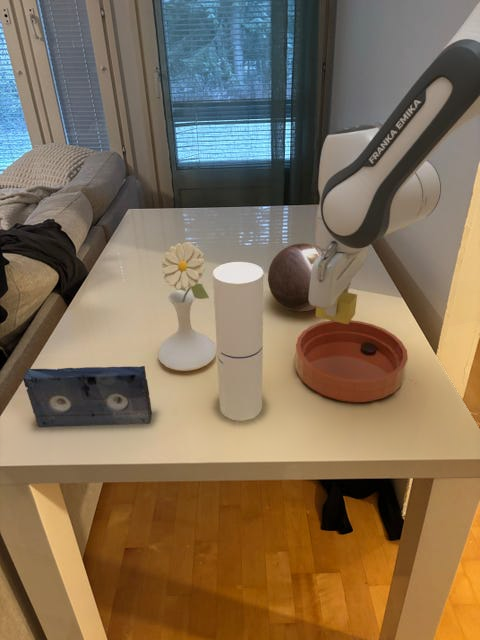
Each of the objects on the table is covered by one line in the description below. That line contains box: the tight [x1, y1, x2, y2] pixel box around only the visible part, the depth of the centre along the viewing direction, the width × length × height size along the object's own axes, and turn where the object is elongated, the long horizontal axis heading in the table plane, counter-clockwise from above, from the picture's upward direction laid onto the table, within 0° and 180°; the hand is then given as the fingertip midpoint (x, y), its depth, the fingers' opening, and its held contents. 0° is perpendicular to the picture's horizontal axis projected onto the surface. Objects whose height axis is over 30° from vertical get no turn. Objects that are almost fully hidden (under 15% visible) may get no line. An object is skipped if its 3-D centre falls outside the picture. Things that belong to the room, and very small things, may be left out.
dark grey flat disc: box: [360, 343, 377, 355], centre depth 90 cm, size 3×3×1 cm
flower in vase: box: [157, 241, 217, 372], centre depth 84 cm, size 13×11×25 cm
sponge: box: [315, 291, 358, 324], centre depth 82 cm, size 6×4×4 cm, turn 61°
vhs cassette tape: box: [22, 365, 153, 428], centre depth 74 cm, size 18×3×10 cm, turn 90°
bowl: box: [294, 319, 409, 403], centre depth 86 cm, size 20×20×5 cm
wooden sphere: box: [267, 243, 322, 312], centre depth 104 cm, size 15×15×15 cm
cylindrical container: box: [212, 261, 264, 422], centre depth 72 cm, size 7×7×25 cm
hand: (336, 307), depth 82 cm, fingers closed on sponge, 4 cm apart
